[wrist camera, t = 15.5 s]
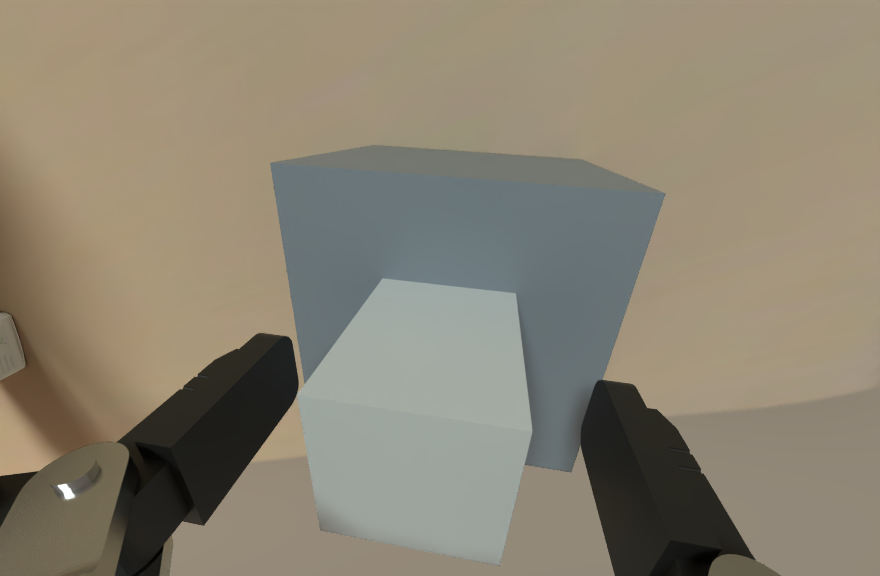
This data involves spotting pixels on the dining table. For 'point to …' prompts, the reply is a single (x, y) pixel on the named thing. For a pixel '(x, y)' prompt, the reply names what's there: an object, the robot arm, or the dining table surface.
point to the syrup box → (9, 348)
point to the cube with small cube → (450, 329)
